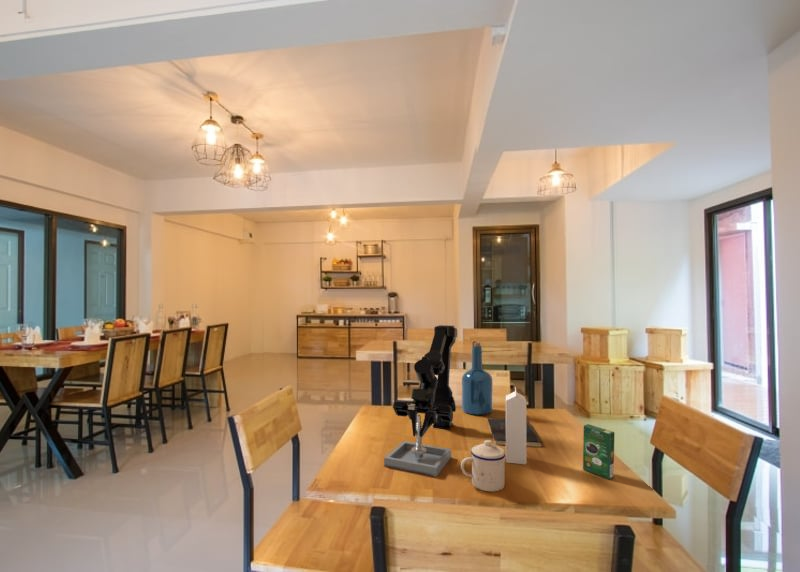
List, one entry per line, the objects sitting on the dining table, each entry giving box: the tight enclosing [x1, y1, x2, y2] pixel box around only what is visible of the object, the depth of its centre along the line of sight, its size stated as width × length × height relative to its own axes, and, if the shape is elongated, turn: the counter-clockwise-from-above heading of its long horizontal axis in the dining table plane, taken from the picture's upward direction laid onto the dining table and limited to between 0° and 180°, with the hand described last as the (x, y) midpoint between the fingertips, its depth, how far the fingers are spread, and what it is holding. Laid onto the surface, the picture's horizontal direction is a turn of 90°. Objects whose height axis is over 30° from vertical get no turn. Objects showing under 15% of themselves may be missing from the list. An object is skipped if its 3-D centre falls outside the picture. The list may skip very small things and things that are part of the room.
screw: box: [411, 413, 427, 458], centre depth 120 cm, size 13×5×5 cm
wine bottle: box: [461, 342, 494, 416], centre depth 171 cm, size 14×13×30 cm
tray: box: [383, 440, 452, 478], centre depth 120 cm, size 16×14×2 cm
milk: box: [505, 386, 527, 466], centre depth 122 cm, size 6×6×22 cm
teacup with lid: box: [460, 439, 506, 493], centre depth 106 cm, size 12×9×12 cm
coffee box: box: [582, 423, 616, 481], centre depth 112 cm, size 8×3×13 cm, turn 35°
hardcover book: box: [486, 417, 544, 448], centre depth 144 cm, size 16×23×2 cm
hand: (417, 436), depth 119 cm, fingers closed on screw, 2 cm apart
